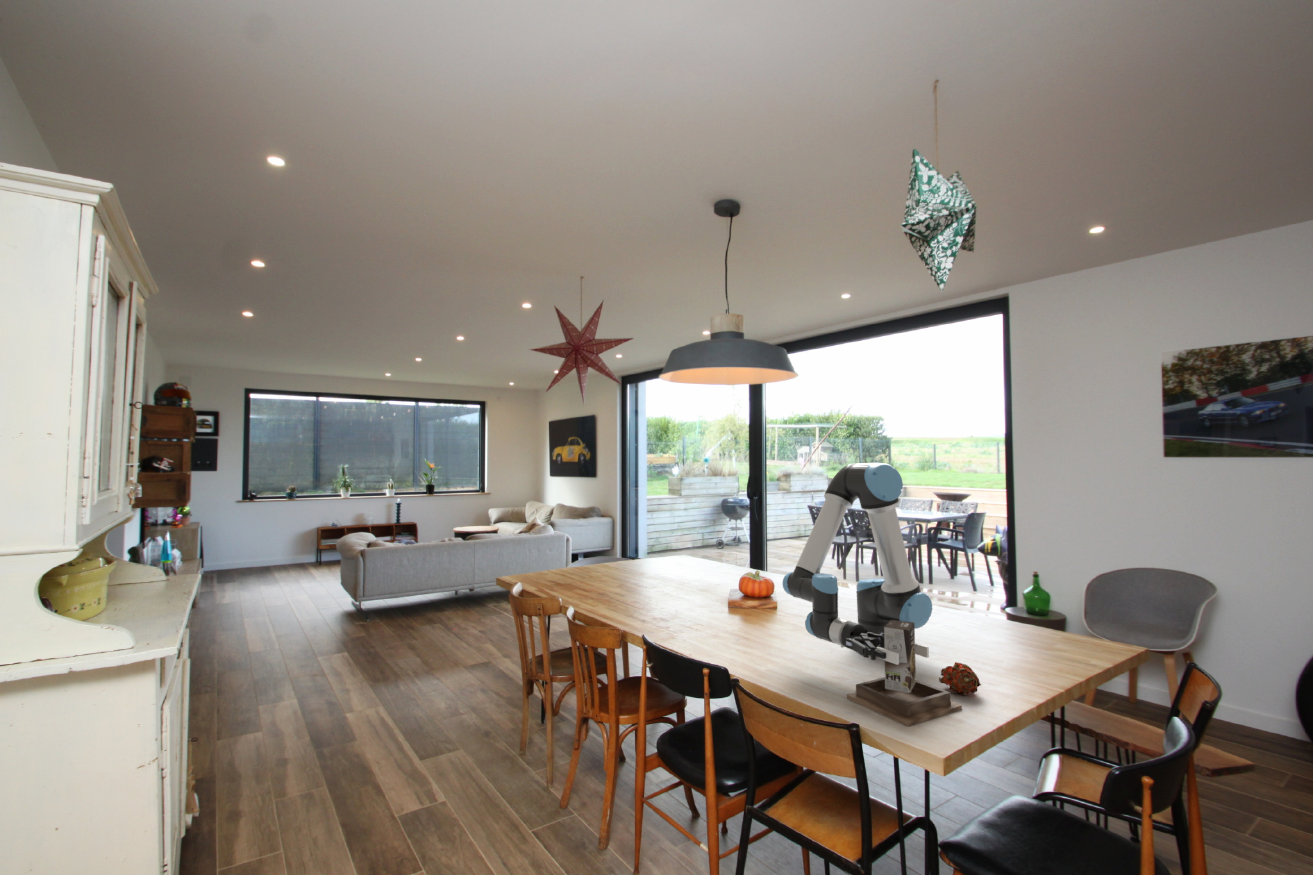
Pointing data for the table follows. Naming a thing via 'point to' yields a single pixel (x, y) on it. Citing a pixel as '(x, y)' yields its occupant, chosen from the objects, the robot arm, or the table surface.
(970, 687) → the dragon fruit
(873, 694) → the holder
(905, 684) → the coffee box
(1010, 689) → the table surface
